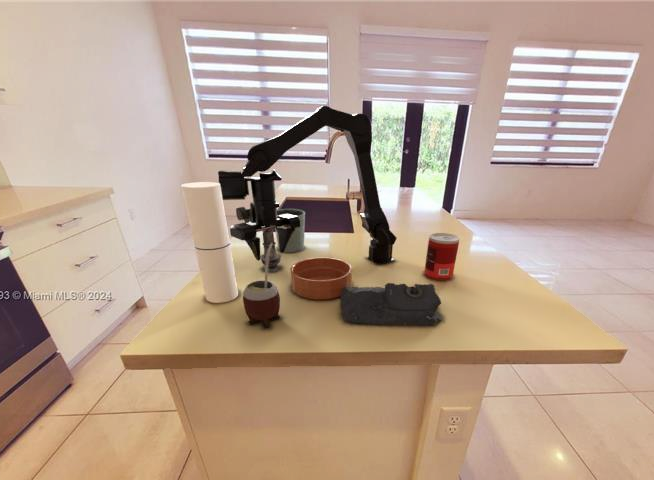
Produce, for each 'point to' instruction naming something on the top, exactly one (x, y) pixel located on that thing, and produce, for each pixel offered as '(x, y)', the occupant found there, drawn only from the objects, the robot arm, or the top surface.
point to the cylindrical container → (211, 240)
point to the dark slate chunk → (391, 305)
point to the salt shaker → (274, 257)
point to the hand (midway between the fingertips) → (270, 256)
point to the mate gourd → (262, 299)
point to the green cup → (298, 235)
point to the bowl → (320, 277)
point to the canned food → (441, 256)
